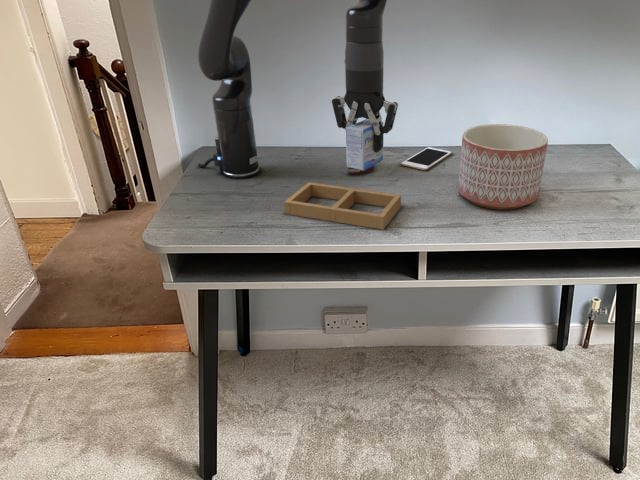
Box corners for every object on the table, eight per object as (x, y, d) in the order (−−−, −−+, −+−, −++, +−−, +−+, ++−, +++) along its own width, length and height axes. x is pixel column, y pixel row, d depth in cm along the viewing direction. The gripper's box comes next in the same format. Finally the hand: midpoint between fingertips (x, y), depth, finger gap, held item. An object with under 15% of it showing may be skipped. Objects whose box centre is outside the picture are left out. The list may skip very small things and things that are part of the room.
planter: (514, 178, 144) (522, 121, 136) (553, 207, 129) (564, 145, 121) (446, 185, 140) (450, 127, 132) (477, 217, 124) (484, 153, 116)
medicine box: (363, 171, 115) (363, 130, 111) (345, 167, 117) (345, 126, 113) (383, 160, 121) (384, 121, 116) (366, 156, 123) (366, 117, 118)
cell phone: (400, 165, 151) (400, 163, 151) (428, 148, 163) (428, 146, 163) (425, 170, 148) (426, 168, 148) (452, 153, 160) (452, 151, 159)
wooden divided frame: (285, 213, 125) (284, 201, 124) (309, 193, 135) (308, 181, 134) (383, 229, 119) (383, 217, 117) (401, 207, 129) (401, 195, 127)
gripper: (405, 64, 109) (402, 148, 119) (338, 58, 113) (340, 140, 122) (392, 72, 103) (391, 159, 113) (322, 66, 107) (326, 151, 116)
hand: (364, 149), depth 117 cm, fingers closed on medicine box, 5 cm apart
